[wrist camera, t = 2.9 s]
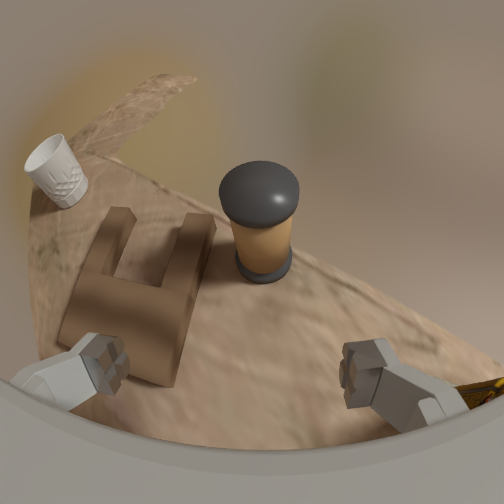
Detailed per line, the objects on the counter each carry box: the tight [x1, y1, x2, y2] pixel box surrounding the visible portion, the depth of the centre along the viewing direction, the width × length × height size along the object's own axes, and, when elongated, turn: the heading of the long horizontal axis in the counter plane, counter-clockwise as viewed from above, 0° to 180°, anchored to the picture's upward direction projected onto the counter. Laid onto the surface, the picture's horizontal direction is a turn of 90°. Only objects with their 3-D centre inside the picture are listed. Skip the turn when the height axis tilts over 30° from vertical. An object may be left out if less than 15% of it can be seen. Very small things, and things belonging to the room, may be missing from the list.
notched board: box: [58, 206, 217, 387], centre depth 27 cm, size 18×14×2 cm
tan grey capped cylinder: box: [219, 161, 299, 284], centre depth 24 cm, size 7×6×11 cm
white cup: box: [24, 134, 88, 209], centre depth 33 cm, size 8×8×10 cm
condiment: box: [434, 376, 504, 410], centre depth 13 cm, size 7×8×12 cm
